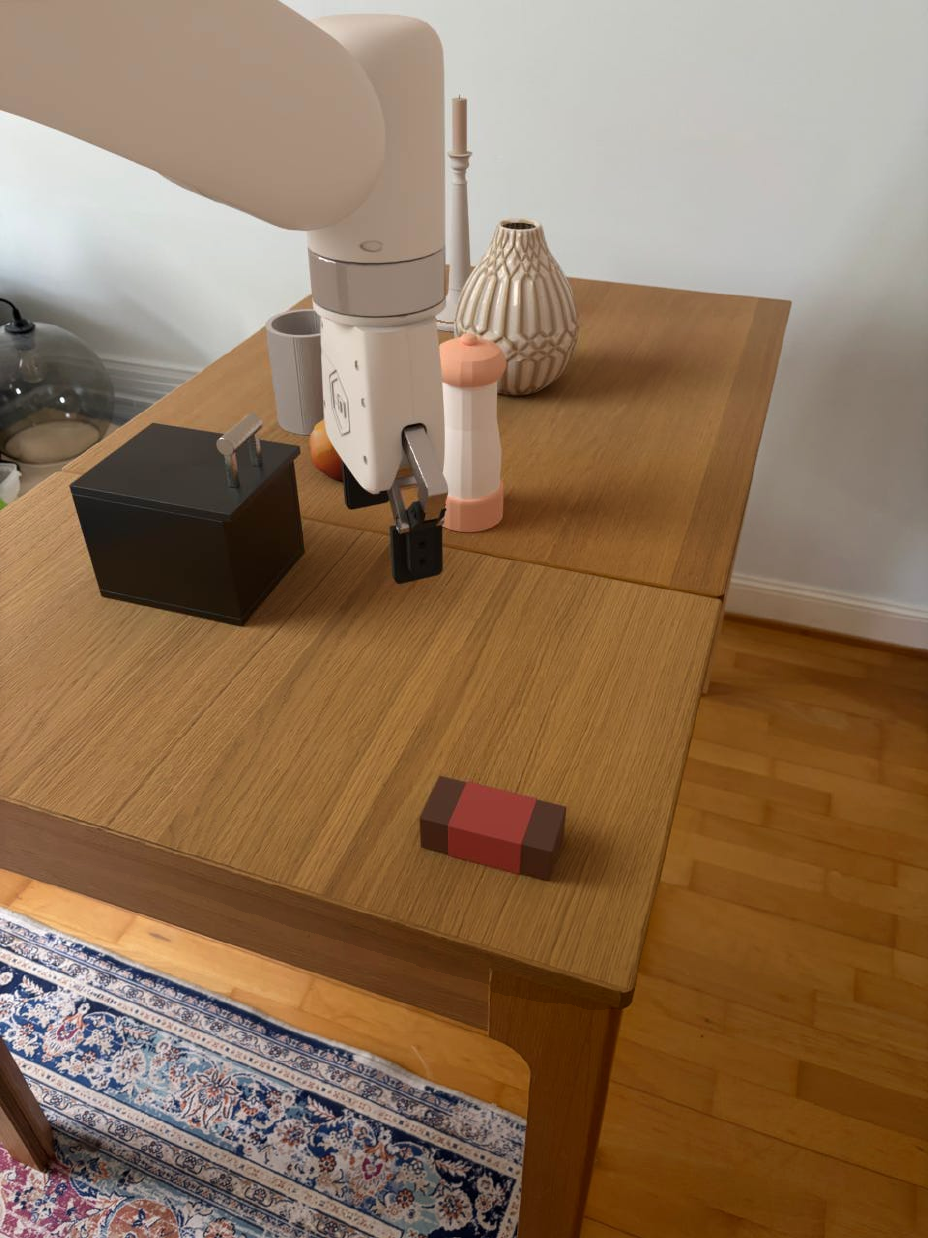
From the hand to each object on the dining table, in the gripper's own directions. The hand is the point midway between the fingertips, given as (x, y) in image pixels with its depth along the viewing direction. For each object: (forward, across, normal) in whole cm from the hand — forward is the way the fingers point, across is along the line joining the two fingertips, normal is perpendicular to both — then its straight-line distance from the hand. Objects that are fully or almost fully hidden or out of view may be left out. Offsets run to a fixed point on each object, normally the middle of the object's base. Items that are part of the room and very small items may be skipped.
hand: (391, 538), depth 63 cm
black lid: (+6, -27, -10) cm, 29 cm away
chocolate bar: (+17, +13, +2) cm, 22 cm away
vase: (+17, -55, +36) cm, 68 cm away
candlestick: (+17, -81, +39) cm, 91 cm away
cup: (+17, -55, +9) cm, 58 cm away
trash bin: (+17, -27, -10) cm, 33 cm away
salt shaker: (+17, -27, +17) cm, 36 cm away
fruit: (+17, -41, +9) cm, 45 cm away
